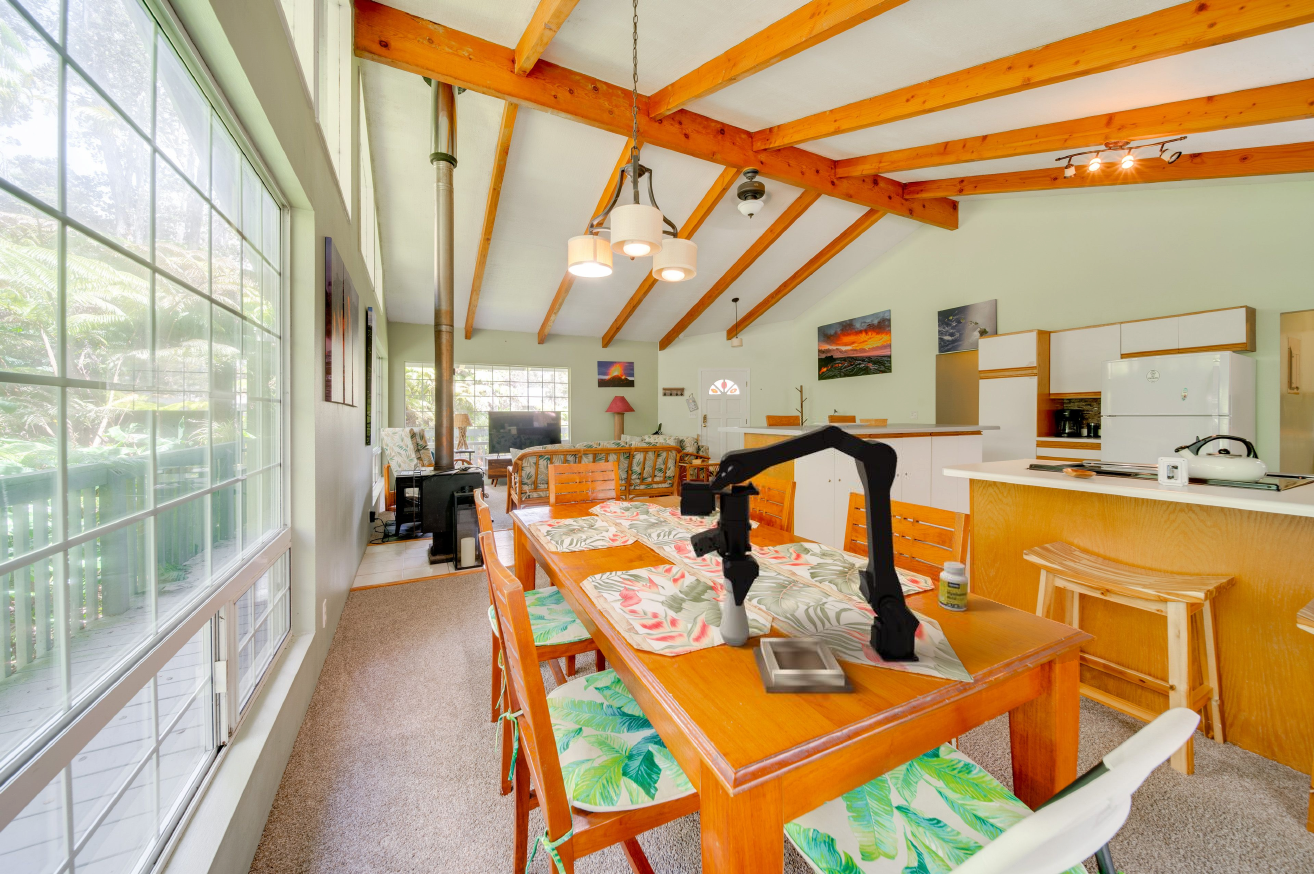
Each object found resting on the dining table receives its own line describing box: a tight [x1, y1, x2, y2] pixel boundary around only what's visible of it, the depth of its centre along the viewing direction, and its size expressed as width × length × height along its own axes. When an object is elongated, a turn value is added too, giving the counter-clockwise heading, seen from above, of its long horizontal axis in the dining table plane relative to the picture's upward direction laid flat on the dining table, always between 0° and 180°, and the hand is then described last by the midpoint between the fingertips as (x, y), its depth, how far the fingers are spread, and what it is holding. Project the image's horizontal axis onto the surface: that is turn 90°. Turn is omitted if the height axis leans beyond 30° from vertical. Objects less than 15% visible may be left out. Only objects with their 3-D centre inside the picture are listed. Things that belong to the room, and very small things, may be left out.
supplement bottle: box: [938, 561, 969, 612], centre depth 106 cm, size 5×5×10 cm
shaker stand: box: [752, 637, 854, 694], centre depth 82 cm, size 14×12×3 cm
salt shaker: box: [719, 577, 750, 648], centre depth 92 cm, size 6×6×13 cm
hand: (735, 595), depth 92 cm, fingers open, 9 cm apart
